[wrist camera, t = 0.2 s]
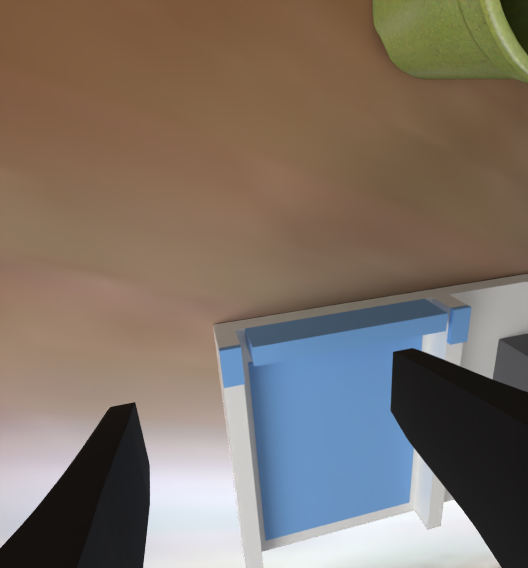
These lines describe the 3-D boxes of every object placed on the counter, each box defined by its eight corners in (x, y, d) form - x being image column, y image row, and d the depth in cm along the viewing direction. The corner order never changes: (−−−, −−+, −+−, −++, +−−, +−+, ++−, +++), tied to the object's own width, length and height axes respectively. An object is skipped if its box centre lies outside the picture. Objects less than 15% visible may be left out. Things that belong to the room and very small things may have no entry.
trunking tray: (559, 457, 31) (597, 489, 28) (241, 542, 26) (249, 588, 24) (608, 260, 25) (661, 275, 23) (212, 324, 21) (219, 353, 18)
